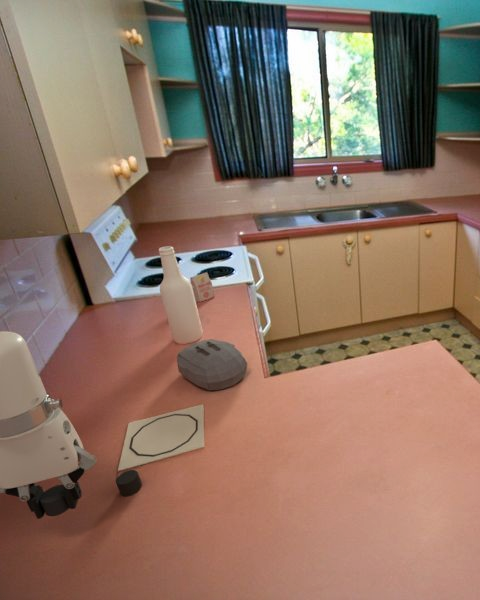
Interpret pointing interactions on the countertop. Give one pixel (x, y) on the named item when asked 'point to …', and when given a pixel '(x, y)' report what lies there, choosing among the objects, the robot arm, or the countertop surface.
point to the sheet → (163, 437)
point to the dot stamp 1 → (54, 501)
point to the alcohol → (179, 300)
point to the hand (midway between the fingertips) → (59, 505)
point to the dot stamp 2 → (128, 482)
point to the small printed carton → (202, 287)
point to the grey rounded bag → (212, 364)
